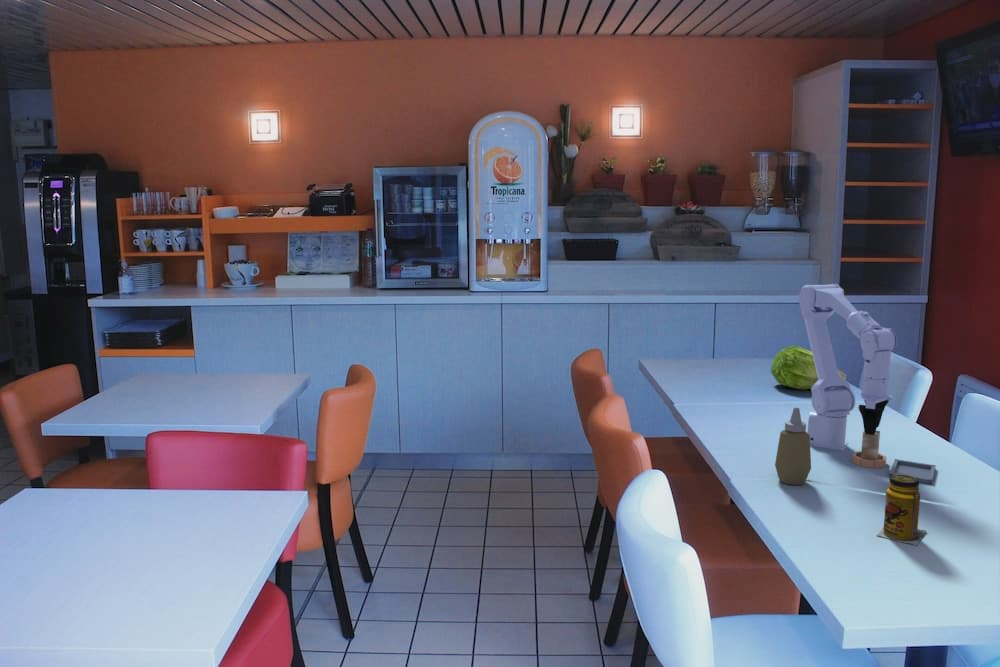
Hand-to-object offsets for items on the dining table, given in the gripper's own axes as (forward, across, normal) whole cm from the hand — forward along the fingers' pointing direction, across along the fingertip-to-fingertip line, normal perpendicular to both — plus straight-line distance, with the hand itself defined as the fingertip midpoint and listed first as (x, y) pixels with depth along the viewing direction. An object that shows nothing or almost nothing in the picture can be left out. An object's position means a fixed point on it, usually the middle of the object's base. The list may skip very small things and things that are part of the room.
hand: (871, 430), depth 198 cm
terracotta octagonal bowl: (+9, 0, 0) cm, 9 cm away
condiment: (+9, -41, -11) cm, 44 cm away
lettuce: (+9, +75, +29) cm, 81 cm away
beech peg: (+8, 0, 0) cm, 9 cm away
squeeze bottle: (+9, -22, +14) cm, 28 cm away
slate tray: (+9, -3, -10) cm, 14 cm away
